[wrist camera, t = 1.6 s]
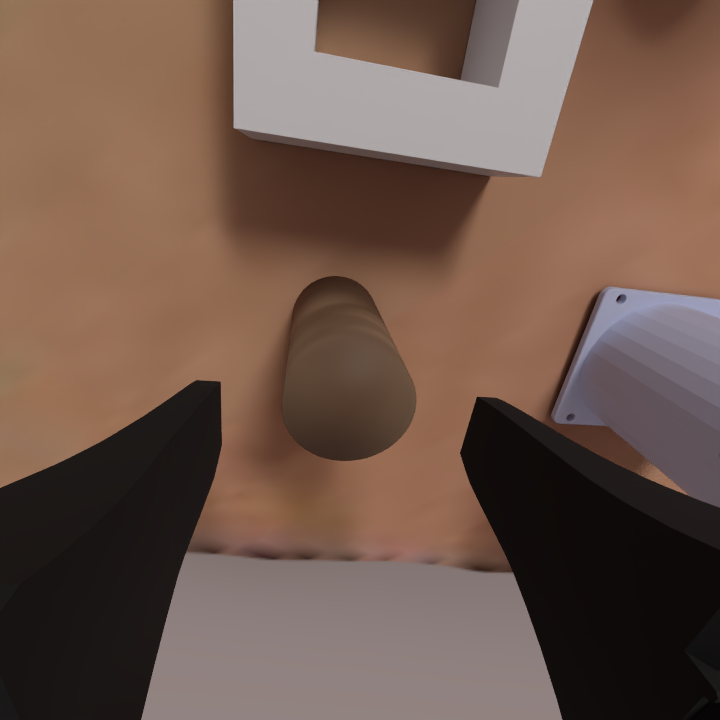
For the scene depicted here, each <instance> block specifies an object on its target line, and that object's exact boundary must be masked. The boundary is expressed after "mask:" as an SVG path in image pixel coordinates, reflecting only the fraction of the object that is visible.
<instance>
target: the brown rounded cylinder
mask: <svg viewBox="0 0 720 720" xmlns="http://www.w3.org/2000/svg"><path fill="white" fill-rule="evenodd" d="M415 409H416V391H415V387H414V383H413V381H412V379H411V377H410V375H409V373H408V370H407V368H406V366H405V364H404V362H403V360H402V358H401V356H400V354H399V352H398V350H397V348H396V346H395V344H394V342H393V340H392V338H391V336H390V334H389V332H388V330H387V328H386V326H385V324H384V321H383V319H382V317H381V315H380V313H379V311H378V309H377V307H376V305H375V303H374V301H373V299H372V297H371V295H370V294H369V292H368V291H367V290H366V289H365V288H364V287H363V286H362V285H361V284H359V283H357V282H356V281H354V280H352V279H349V278H345V277H340V276H332V277H325V278H322V279H319V280H317V281H315V282H313V283H311V284H310V285H308V286H307V287H306V288H305V289H304V290H303V291H302V292H301V294H300V295H299V297H298V298H297V301H296V303H295V306H294V311H293V319H292V327H291V335H290V342H289V350H288V358H287V366H286V374H285V382H284V390H283V398H282V415H283V420H284V423H285V426H286V428H287V430H288V431H289V433H290V434H291V436H292V437H293V439H294V440H295V441H296V442H297V443H298V444H299V445H301V446H302V447H303V448H304V449H306V450H308V451H309V452H311V453H313V454H315V455H317V456H320V457H323V458H326V459H331V460H339V461H352V460H359V459H364V458H368V457H371V456H373V455H376V454H378V453H380V452H382V451H384V450H386V449H387V448H389V447H390V446H392V445H393V444H394V443H395V442H396V441H397V440H399V439H400V438H401V436H402V435H403V434H404V433H405V432H406V430H407V429H408V427H409V425H410V423H411V421H412V419H413V416H414V413H415Z"/></svg>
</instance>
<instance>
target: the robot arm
mask: <svg viewBox="0 0 720 720" xmlns="http://www.w3.org/2000/svg"><path fill="white" fill-rule="evenodd" d="M619 295H621V297H620V299H619V300H618V301H617V302H616V299H617V297H618V296H619ZM569 414H570V416H568V415H569ZM567 416H568V417H567ZM551 417H552V419H553V420H554V421H555V422H556V423H559V424H576V425H596V426H608V427H610V428H611V429H612V430H613V431H614V432H615V433H617V434H618V435H619V436H620V437H621V438H622V439H624V440H625V441H626V442H627V443H628V444H630V445H631V446H632V447H633V448H634V449H635V450H637V451H638V452H639V453H640V454H641V455H642V456H644V457H645V458H646V459H647V460H648V461H649V462H651V463H652V464H653V465H654V466H655V467H657V468H658V469H659V470H660V471H661V472H662V473H664V474H665V475H666V476H667V477H668V478H669V479H671V480H672V481H673V482H674V483H675V484H676V485H678V486H679V487H680V488H681V489H682V490H684V491H685V492H686V493H687V494H688V495H689V496H688V495H685V494H683V493H680V492H678V491H675V490H673V489H670V488H668V487H665V486H663V485H660V484H658V483H656V482H653V481H651V480H649V479H646V478H644V477H642V476H640V475H638V474H636V473H634V472H632V471H629V470H627V469H625V468H623V467H621V466H619V465H617V464H615V463H613V462H611V461H609V460H607V459H605V458H603V457H601V456H599V455H597V454H595V453H594V452H592V451H590V450H588V449H586V448H584V447H582V446H581V445H579V444H577V443H575V442H573V441H572V440H570V439H568V438H566V437H565V436H563V435H561V434H560V433H558V432H556V431H555V430H553V429H551V428H549V427H548V426H546V425H544V424H543V423H541V422H539V421H538V420H536V419H534V418H533V417H531V416H529V415H528V414H526V413H524V412H523V411H521V410H519V409H517V408H516V407H514V406H512V405H510V404H508V403H506V402H504V401H502V400H500V399H498V398H489V397H477V399H476V402H475V405H474V409H473V412H472V415H471V419H470V422H469V425H468V429H467V432H466V435H465V439H464V442H463V445H462V449H461V452H460V454H461V457H462V461H463V464H464V467H465V470H466V473H467V476H468V479H469V482H470V484H471V486H472V489H473V491H474V493H475V495H476V497H477V499H478V501H479V503H480V505H481V507H482V509H483V511H484V513H485V515H486V517H487V519H488V521H489V523H490V525H491V527H492V529H493V531H494V533H495V535H496V537H497V539H498V541H499V543H500V545H501V547H502V549H503V551H504V553H505V555H506V557H507V559H508V562H509V564H510V566H511V568H512V571H513V573H514V576H515V578H516V581H517V584H518V586H519V589H520V591H521V594H522V597H523V599H524V602H525V604H526V607H527V610H528V613H529V616H530V618H531V622H532V624H533V627H534V630H535V633H536V636H537V639H538V641H539V644H540V647H541V650H542V654H543V657H544V660H545V663H546V666H547V670H548V673H549V675H550V679H551V682H552V685H553V689H554V692H555V695H556V698H557V702H558V705H559V708H560V712H561V716H562V719H563V720H720V299H715V298H706V297H697V296H689V295H680V294H671V293H663V292H654V291H645V290H637V289H628V288H619V287H607V288H605V289H603V290H602V291H601V293H600V294H599V296H598V299H597V301H596V304H595V306H594V309H593V311H592V314H591V316H590V319H589V321H588V324H587V326H586V329H585V331H584V334H583V336H582V339H581V341H580V344H579V346H578V349H577V351H576V354H575V356H574V359H573V361H572V364H571V366H570V369H569V371H568V374H567V376H566V379H565V381H564V384H563V386H562V388H561V391H560V393H559V396H558V398H557V401H556V403H555V406H554V408H553V411H552V414H551ZM221 446H222V432H221V382H217V381H200V380H196V381H194V382H193V383H191V384H190V385H188V386H187V387H185V388H184V389H182V390H181V391H180V392H178V393H177V394H175V395H174V396H173V397H171V398H170V399H168V400H167V401H165V402H164V403H162V404H161V405H159V406H158V407H156V408H155V409H154V410H152V411H151V412H149V413H148V414H146V415H145V416H143V417H141V418H140V419H138V420H137V421H135V422H133V423H132V424H130V425H128V426H127V427H125V428H123V429H122V430H120V431H118V432H117V433H115V434H114V435H112V436H110V437H109V438H107V439H105V440H103V441H101V442H100V443H98V444H96V445H94V446H92V447H90V448H88V449H86V450H84V451H82V452H80V453H78V454H76V455H74V456H72V457H70V458H68V459H66V460H64V461H62V462H60V463H58V464H56V465H54V466H51V467H49V468H46V469H44V470H42V471H39V472H37V473H35V474H32V475H30V476H28V477H25V478H23V479H21V480H18V481H16V482H13V483H11V484H9V485H6V486H4V487H2V488H0V720H141V717H142V713H143V709H144V705H145V701H146V697H147V693H148V689H149V685H150V680H151V676H152V672H153V668H154V664H155V660H156V656H157V653H158V649H159V645H160V641H161V637H162V633H163V629H164V625H165V622H166V618H167V614H168V610H169V606H170V603H171V599H172V595H173V592H174V588H175V585H176V581H177V577H178V574H179V571H180V568H181V565H182V562H183V559H184V556H185V553H186V551H187V548H188V546H189V543H190V540H191V538H192V535H193V532H194V530H195V527H196V525H197V522H198V519H199V517H200V514H201V512H202V509H203V506H204V504H205V501H206V498H207V496H208V493H209V490H210V488H211V485H212V482H213V479H214V476H215V472H216V468H217V464H218V459H219V455H220V451H221ZM690 496H691V497H690Z"/></svg>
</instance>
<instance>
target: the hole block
mask: <svg viewBox="0 0 720 720" xmlns="http://www.w3.org/2000/svg"><path fill="white" fill-rule="evenodd" d="M592 3H593V0H476V5H475V10H474V15H473V20H472V25H471V30H470V35H469V40H468V45H467V50H466V55H465V60H464V65H463V70H462V75H461V80H457V79H451V78H446V77H441V76H436V75H431V74H426V73H421V72H416V71H411V70H406V69H401V68H396V67H391V66H385V65H380V64H375V63H370V62H365V61H360V60H355V59H350V58H345V57H340V56H335V55H330V54H325V53H320V52H315V51H316V37H317V22H318V8H319V0H233V64H234V129H236V130H238V131H240V132H241V133H243V134H245V135H247V136H248V137H250V138H252V139H257V140H263V141H270V142H276V143H282V144H289V145H295V146H301V147H308V148H314V149H321V150H327V151H333V152H340V153H346V154H352V155H359V156H365V157H371V158H378V159H384V160H390V161H397V162H403V163H409V164H416V165H422V166H428V167H435V168H441V169H448V170H454V171H460V172H467V173H473V174H479V175H486V176H497V177H541V174H542V171H543V167H544V164H545V161H546V157H547V154H548V151H549V147H550V144H551V141H552V137H553V134H554V131H555V127H556V124H557V120H558V117H559V114H560V110H561V107H562V104H563V100H564V97H565V94H566V90H567V87H568V84H569V80H570V77H571V73H572V70H573V67H574V63H575V60H576V57H577V53H578V50H579V47H580V43H581V40H582V37H583V33H584V30H585V26H586V23H587V20H588V16H589V13H590V10H591V6H592Z"/></svg>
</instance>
